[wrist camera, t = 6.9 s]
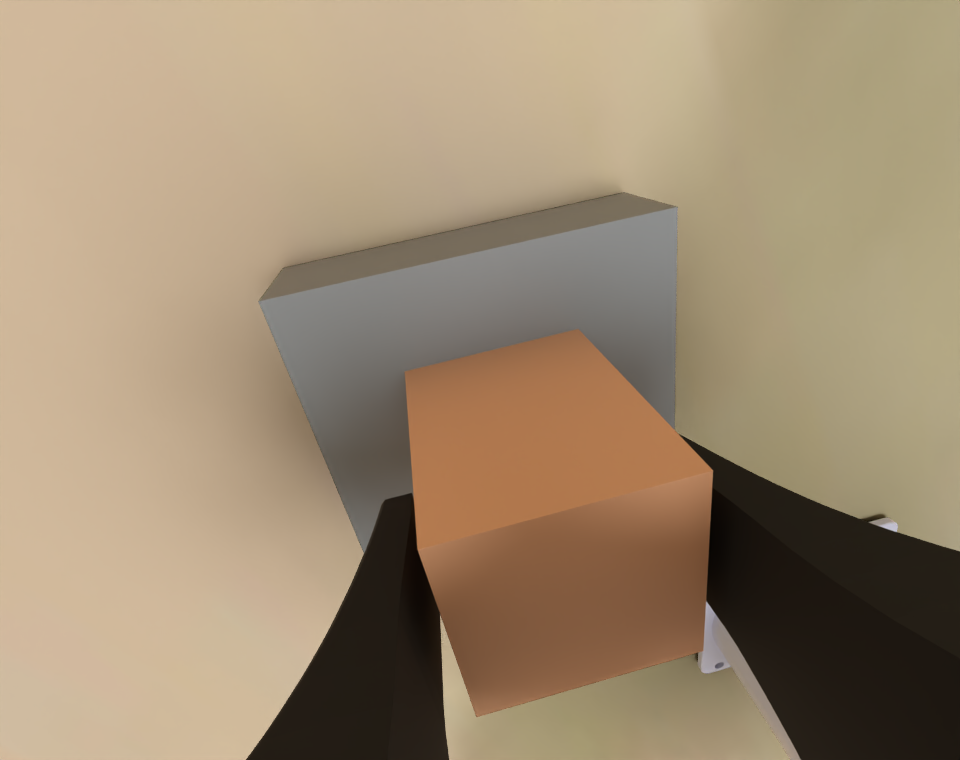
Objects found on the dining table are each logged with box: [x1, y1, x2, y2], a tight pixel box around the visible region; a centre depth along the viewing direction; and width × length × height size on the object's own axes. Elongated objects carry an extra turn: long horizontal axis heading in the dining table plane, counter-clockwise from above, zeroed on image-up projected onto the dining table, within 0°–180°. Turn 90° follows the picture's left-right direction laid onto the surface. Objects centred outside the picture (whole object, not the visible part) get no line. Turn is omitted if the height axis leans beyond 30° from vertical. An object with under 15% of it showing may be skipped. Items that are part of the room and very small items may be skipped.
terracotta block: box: [405, 329, 713, 717], centre depth 11 cm, size 5×5×6 cm
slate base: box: [258, 193, 677, 553], centre depth 15 cm, size 10×10×3 cm
